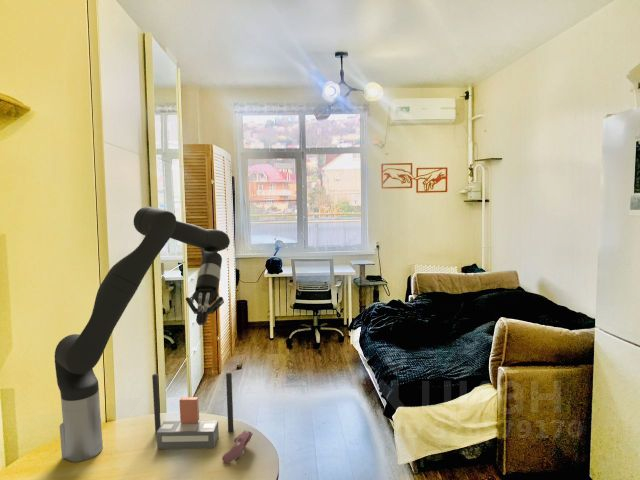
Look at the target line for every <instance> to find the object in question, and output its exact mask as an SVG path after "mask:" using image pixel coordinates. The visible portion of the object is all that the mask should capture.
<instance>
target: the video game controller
mask: <svg viewBox="0 0 640 480" xmlns="http://www.w3.org/2000/svg"><path fill="white" fill-rule="evenodd" d="M252 436H253V432H252V431H249V430H246V429H245V430H243V431H242V432H241V433H240V434H238V436H236V437H235V439H234V443H233V446H232V447H231V449H230V450H228V451H227V452H225V453H224V454H223V455H222V462H223V463H225V464H228V463H229V464H230V463H232V462H233V461H235V460H236V459H238V460H239V458H240V456H241V455H244V454H245V450H246V449H247V446H248V443H249V442H250V441H251V439H252Z"/></svg>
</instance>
